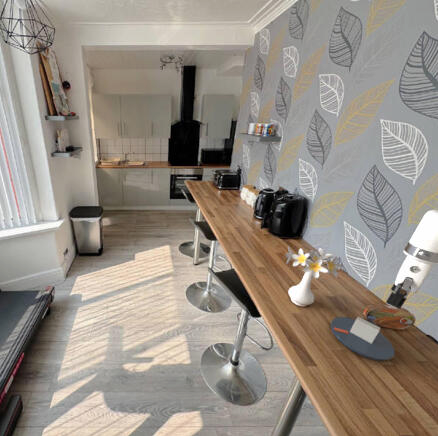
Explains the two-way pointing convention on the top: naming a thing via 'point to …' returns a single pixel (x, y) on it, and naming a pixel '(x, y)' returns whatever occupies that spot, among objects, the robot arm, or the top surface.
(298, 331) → the top surface
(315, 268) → the flower vase
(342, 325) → the rotary dial knob
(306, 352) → the top surface
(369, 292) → the top surface
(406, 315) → the tin
